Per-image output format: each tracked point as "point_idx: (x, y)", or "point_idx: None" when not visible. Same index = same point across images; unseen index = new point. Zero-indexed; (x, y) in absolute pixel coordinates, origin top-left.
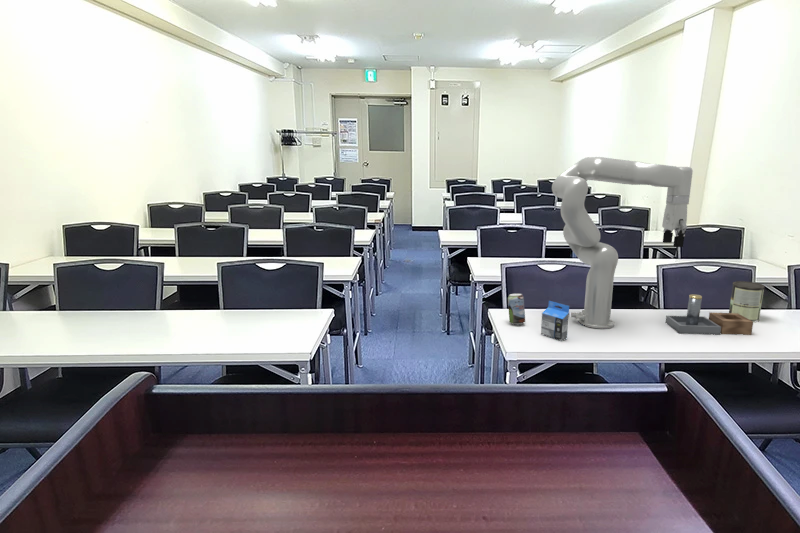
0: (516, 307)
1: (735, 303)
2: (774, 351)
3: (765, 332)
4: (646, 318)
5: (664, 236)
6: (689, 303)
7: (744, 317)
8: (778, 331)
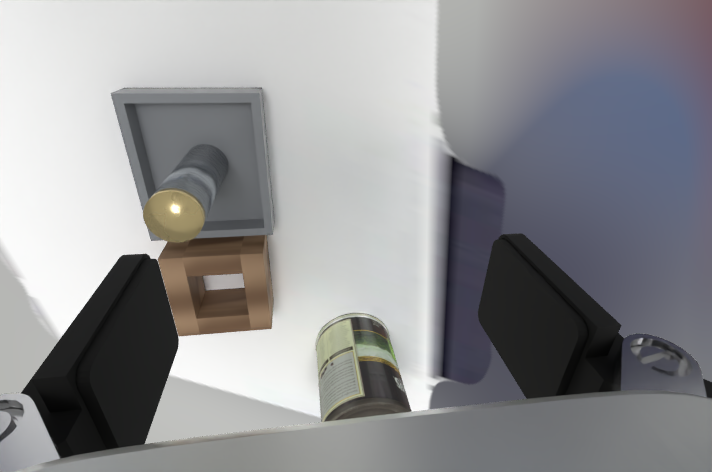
0: None
1: (345, 353)
2: (43, 307)
3: (226, 345)
4: (311, 24)
5: (541, 288)
6: (174, 177)
7: (224, 330)
8: (244, 372)
